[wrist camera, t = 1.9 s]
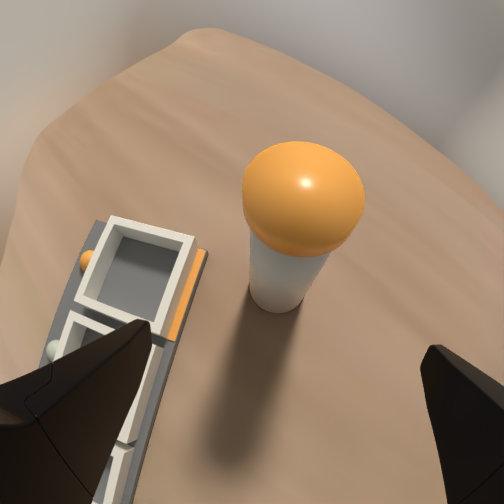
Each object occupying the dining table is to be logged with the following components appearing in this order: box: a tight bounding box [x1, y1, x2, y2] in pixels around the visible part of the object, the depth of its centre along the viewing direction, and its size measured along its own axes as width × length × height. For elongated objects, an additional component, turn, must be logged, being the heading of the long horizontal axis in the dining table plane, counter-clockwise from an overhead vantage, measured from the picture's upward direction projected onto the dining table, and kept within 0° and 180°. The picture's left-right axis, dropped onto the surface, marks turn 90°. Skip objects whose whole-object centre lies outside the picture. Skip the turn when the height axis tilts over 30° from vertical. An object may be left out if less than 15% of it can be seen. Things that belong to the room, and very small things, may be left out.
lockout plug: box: [242, 141, 365, 313], centre depth 17 cm, size 5×5×12 cm
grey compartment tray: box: [38, 215, 208, 504], centre depth 18 cm, size 22×10×3 cm, turn 165°
